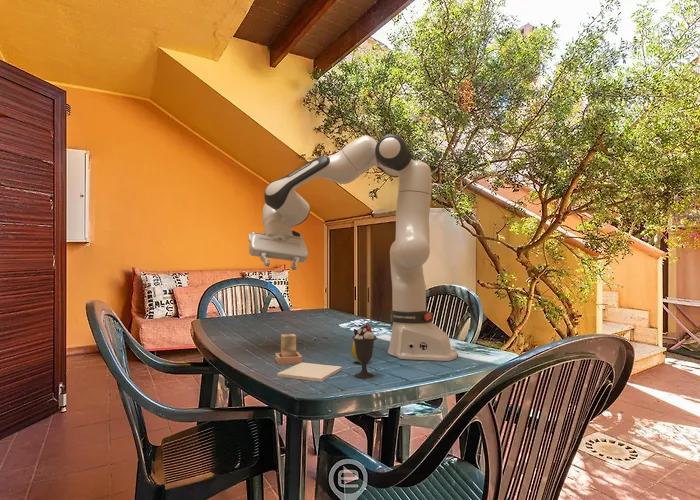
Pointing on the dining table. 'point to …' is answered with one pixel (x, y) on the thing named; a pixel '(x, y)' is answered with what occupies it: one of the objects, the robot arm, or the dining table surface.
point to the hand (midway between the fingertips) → (280, 267)
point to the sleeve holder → (288, 359)
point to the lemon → (355, 352)
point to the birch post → (288, 345)
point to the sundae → (364, 348)
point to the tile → (310, 372)
